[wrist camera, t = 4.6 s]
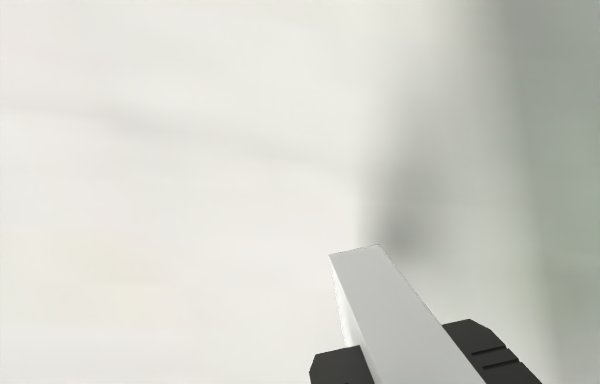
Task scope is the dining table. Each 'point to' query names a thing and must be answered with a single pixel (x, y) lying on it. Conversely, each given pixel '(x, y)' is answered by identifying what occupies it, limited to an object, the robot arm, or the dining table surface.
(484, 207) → the dining table surface
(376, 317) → the robot arm
